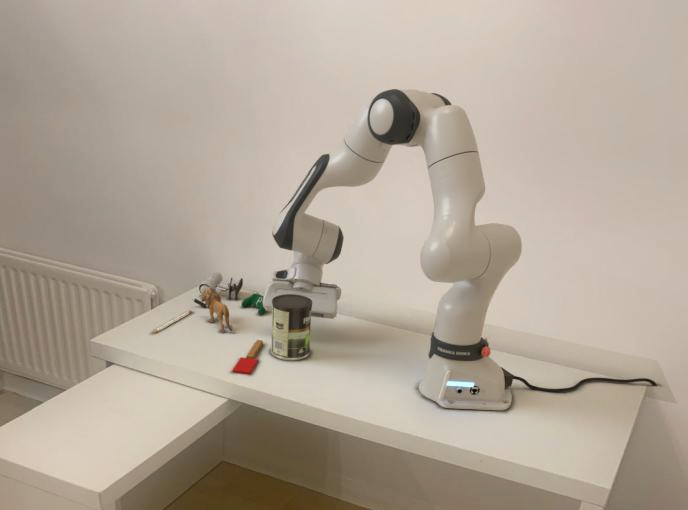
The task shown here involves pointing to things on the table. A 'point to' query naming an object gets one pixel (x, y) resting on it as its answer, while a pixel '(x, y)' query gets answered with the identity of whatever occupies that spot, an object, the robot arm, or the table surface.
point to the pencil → (172, 321)
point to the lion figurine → (216, 307)
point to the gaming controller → (255, 302)
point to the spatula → (248, 360)
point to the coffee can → (291, 326)
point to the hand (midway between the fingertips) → (295, 328)
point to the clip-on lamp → (215, 282)
